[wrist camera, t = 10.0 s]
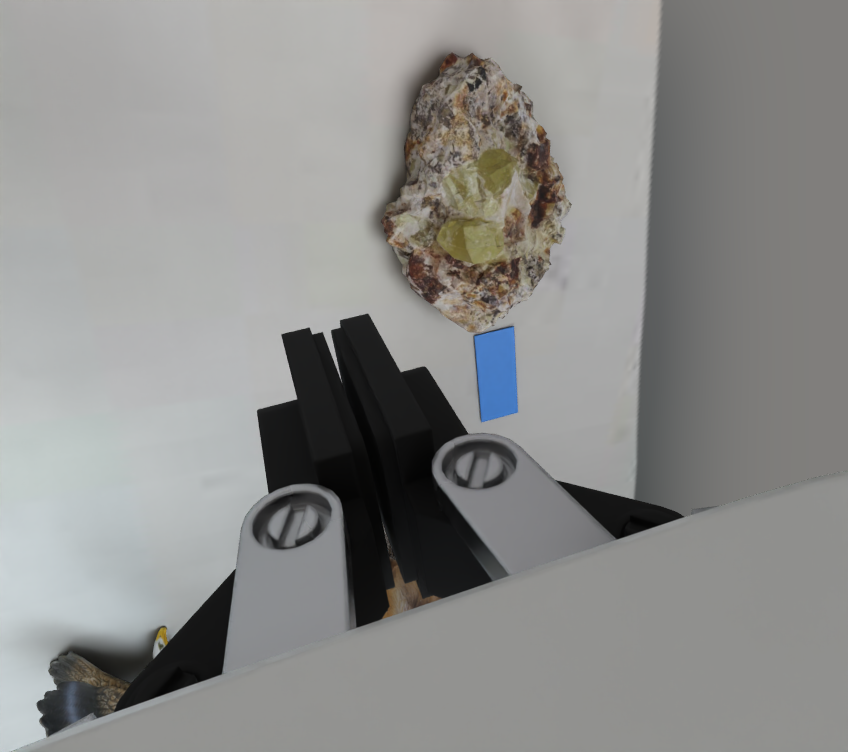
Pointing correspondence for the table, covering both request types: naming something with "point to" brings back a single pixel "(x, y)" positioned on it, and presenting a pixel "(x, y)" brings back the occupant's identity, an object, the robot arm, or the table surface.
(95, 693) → the eagle figurine
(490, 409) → the tape marks
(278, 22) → the table surface
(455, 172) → the mineral rock
